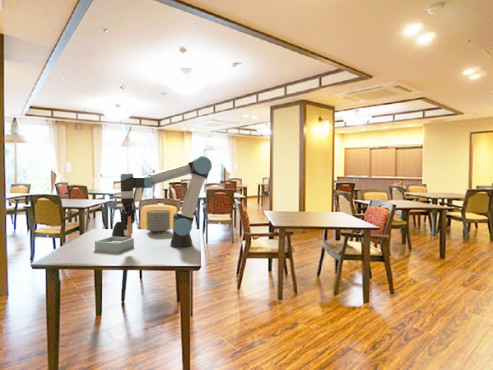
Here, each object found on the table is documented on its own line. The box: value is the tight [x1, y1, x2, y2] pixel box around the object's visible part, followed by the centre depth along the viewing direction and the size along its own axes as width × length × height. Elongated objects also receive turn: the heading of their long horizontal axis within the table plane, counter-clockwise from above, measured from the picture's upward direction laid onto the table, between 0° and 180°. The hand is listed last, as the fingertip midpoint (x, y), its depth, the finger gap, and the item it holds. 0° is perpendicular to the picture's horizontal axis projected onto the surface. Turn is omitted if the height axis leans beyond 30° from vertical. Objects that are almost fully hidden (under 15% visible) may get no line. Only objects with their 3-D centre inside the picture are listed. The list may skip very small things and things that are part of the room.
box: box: [94, 235, 135, 254], centre depth 204 cm, size 18×16×6 cm
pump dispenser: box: [111, 220, 125, 237], centre depth 223 cm, size 10×10×15 cm
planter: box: [146, 209, 171, 234], centre depth 258 cm, size 19×19×18 cm
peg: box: [125, 216, 133, 239], centre depth 195 cm, size 4×4×14 cm
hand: (128, 233), depth 195 cm, fingers closed on peg, 3 cm apart
